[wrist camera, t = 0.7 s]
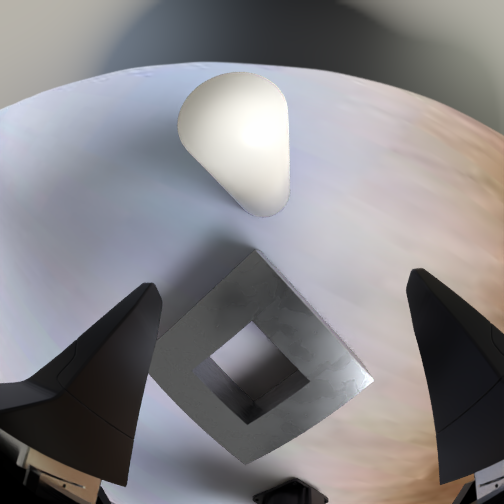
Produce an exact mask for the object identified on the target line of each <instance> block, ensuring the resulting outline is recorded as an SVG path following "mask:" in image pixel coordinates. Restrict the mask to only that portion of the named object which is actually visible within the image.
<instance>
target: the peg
mask: <svg viewBox="0 0 504 504" xmlns="http://www.w3.org/2000/svg"><path fill="white" fill-rule="evenodd" d="M177 126H178V134H179V137H180V140H181V142H182V144H183V145H184V147H185V148H186V149H187V151H188V152H189V153H190V154H191V155H192V156H193V157H194V158H195V159H196V160H197V161H198V162H199V163H200V164H201V165H202V166H203V167H204V168H205V169H206V170H207V171H208V172H209V173H210V174H211V175H212V176H213V177H214V178H215V179H216V181H217V182H218V183H219V184H220V185H221V186H222V187H223V188H224V189H225V190H226V191H227V192H228V193H229V194H230V195H231V196H232V197H233V198H234V199H235V200H236V201H237V203H238V204H239V205H240V206H241V207H242V208H243V209H244V210H245V211H246V212H248V213H249V214H251V215H253V216H256V217H262V218H264V217H271V216H274V215H276V214H278V213H279V212H280V211H282V210H283V209H284V207H285V206H286V205H287V203H288V200H289V197H290V157H289V125H288V107H287V103H286V100H285V97H284V95H283V94H282V92H281V91H280V89H279V88H278V87H277V86H276V85H275V84H274V83H272V82H271V81H270V80H268V79H266V78H264V77H262V76H260V75H256V74H253V73H247V72H232V73H226V74H222V75H219V76H216V77H213V78H211V79H209V80H207V81H205V82H204V83H202V84H201V85H199V86H198V87H197V88H196V89H195V90H194V91H192V93H191V94H190V95H189V96H188V97H187V99H186V100H185V102H184V103H183V105H182V107H181V110H180V112H179V116H178V124H177Z"/></svg>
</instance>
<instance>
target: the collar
mask: <svg viewBox="0 0 504 504" xmlns="http://www.w3.org/2000/svg"><path fill="white" fill-rule="evenodd" d="M251 321H253V322H254V323H255V324H256V325H257V327H258V328H259V329H260V330H261V331H262V332H263V333H264V334H265V335H266V336H267V337H268V338H269V339H270V340H271V341H272V342H273V344H274V345H275V346H276V347H277V348H278V349H279V350H280V351H281V352H282V353H283V354H284V355H285V356H286V357H287V358H288V359H289V360H290V361H291V362H292V363H293V364H294V365H295V366H296V367H297V368H298V370H297V371H296V372H294V373H293V374H292V375H291V376H289V377H288V378H287V379H285V380H284V381H283V382H281V383H280V384H279V385H277V386H276V387H274V388H273V389H272V390H270V391H269V392H267V393H266V394H265V395H263V396H262V397H260V398H259V399H257V400H256V401H255V402H254V401H253V400H252V399H251V398H249V397H248V396H247V395H246V394H245V393H244V392H243V391H242V390H241V389H240V388H239V387H238V386H237V385H236V384H235V383H234V382H233V381H232V380H231V379H230V378H229V377H228V376H227V375H226V374H225V373H224V372H223V371H222V370H221V369H220V368H219V366H218V365H217V364H216V363H215V362H214V361H213V360H212V359H211V358H210V357H209V356H210V355H211V354H213V353H214V352H215V351H216V350H218V349H219V348H220V347H221V346H222V345H224V344H225V343H226V342H227V341H228V340H230V339H231V338H232V337H233V336H234V335H236V334H237V333H238V332H239V331H240V330H242V329H243V328H244V327H245V326H246V325H247V324H249V323H250V322H251ZM148 373H149V375H150V376H151V377H152V378H153V379H154V380H155V381H156V382H157V384H158V385H159V386H160V387H161V388H162V389H163V390H164V391H165V392H166V393H167V394H168V396H169V397H170V398H171V399H172V400H173V401H174V402H175V403H176V404H177V405H178V406H179V407H180V408H181V409H182V410H183V411H184V412H185V413H186V414H187V415H188V416H189V417H190V418H191V419H192V420H193V421H194V422H196V423H197V424H198V425H199V426H200V427H201V428H202V429H203V430H204V431H205V432H206V433H207V434H209V435H210V436H211V437H212V438H213V439H214V440H215V441H217V442H218V443H219V444H220V445H221V446H222V447H224V448H225V449H226V450H227V451H228V452H230V453H231V454H232V455H233V456H235V457H236V458H237V459H238V460H240V461H241V462H242V463H244V464H245V465H246V464H248V463H250V462H252V461H254V460H256V459H258V458H260V457H262V456H264V455H266V454H268V453H270V452H271V451H273V450H275V449H277V448H279V447H280V446H282V445H284V444H285V443H287V442H289V441H291V440H292V439H294V438H296V437H297V436H299V435H300V434H302V433H304V432H305V431H307V430H308V429H310V428H311V427H313V426H314V425H316V424H317V423H319V422H320V421H322V420H323V419H325V418H326V417H328V416H329V415H330V414H332V413H333V412H335V411H336V410H337V409H339V408H340V407H341V406H343V405H344V404H345V403H347V402H348V401H349V400H351V399H352V398H353V397H354V396H356V395H357V394H358V393H360V392H361V391H362V390H363V389H364V388H366V387H367V386H368V385H369V384H370V383H372V382H373V381H374V379H373V378H372V376H371V375H370V373H369V372H368V370H367V369H366V367H365V366H364V364H363V363H362V362H361V360H360V359H359V358H358V357H357V356H356V355H355V354H354V353H353V352H352V350H351V349H350V348H349V347H348V346H347V345H346V344H345V343H344V342H343V340H342V339H341V338H340V337H339V336H338V335H337V334H336V333H335V332H334V330H333V329H332V328H331V327H330V326H329V325H328V324H327V323H326V322H325V321H324V319H323V318H322V317H321V316H320V315H319V314H318V313H317V312H316V311H315V310H314V308H313V307H312V306H311V305H310V304H309V303H308V302H307V301H306V300H305V299H304V297H303V296H302V295H301V294H300V293H299V292H298V291H297V290H296V289H295V288H294V286H293V285H292V284H291V283H290V282H289V281H288V280H287V279H286V278H285V277H284V276H283V274H282V273H281V272H280V271H279V270H278V269H277V268H276V267H275V266H274V265H273V264H272V262H271V261H270V260H269V259H268V258H267V257H266V256H265V255H264V254H263V253H262V252H261V251H258V250H254V251H253V252H252V253H251V254H250V255H249V256H248V257H246V258H245V259H244V260H243V261H242V262H241V263H240V264H239V265H238V266H237V267H236V268H235V269H234V270H233V271H231V272H230V273H229V274H228V275H227V276H226V277H225V278H224V279H223V280H222V281H221V282H220V283H219V284H217V285H216V286H215V287H214V288H213V289H212V290H211V291H210V292H209V293H208V294H207V295H206V296H205V297H204V298H202V299H201V300H200V301H199V302H198V303H197V304H196V305H195V306H194V307H193V308H192V309H191V310H190V311H189V312H187V313H186V314H185V315H184V316H183V317H182V318H181V319H180V320H179V321H178V322H177V323H176V324H175V325H173V326H172V327H171V328H170V329H169V330H168V331H167V332H166V333H165V334H164V335H163V336H162V337H161V338H160V339H158V340H157V341H156V344H155V348H154V352H153V356H152V360H151V364H150V368H149V372H148Z"/></svg>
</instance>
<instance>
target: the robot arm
mask: <svg viewBox="0 0 504 504" xmlns="http://www.w3.org/2000/svg"><path fill="white" fill-rule="evenodd" d="M406 294H407V298H408V303H409V308H410V312H411V318H412V323H413V328H414V332H415V336H416V340H417V343H418V347H419V351H420V354H421V358H422V362H423V367H424V371H425V375H426V380H427V384H428V389H429V394H430V400H431V405H432V411H433V417H434V424H435V431H436V440H437V450H438V461H439V477H440V485H442V484H445V483H448V482H451V481H454V480H457V479H460V478H463V477H465V476H468V475H471V474H473V473H474V478H475V479H474V480H472V481H470V482H468V483H466V484H464V486H463V488H462V489H461V491H460V493H459V494H458V496H457V497H456V499H455V500H454V502H453V503H452V504H504V334H503V333H502V332H501V331H500V330H499V329H498V328H496V327H495V326H494V325H493V324H492V323H490V321H488V320H487V319H486V318H485V317H484V316H483V315H482V314H480V313H479V312H478V311H477V310H476V309H474V308H473V307H472V306H471V305H470V304H468V303H467V302H466V301H465V300H464V299H462V298H461V297H460V296H459V295H457V294H456V293H455V292H454V291H452V290H451V289H450V288H448V287H447V286H446V285H445V284H443V283H442V282H441V281H439V280H438V279H437V278H435V277H434V276H433V275H431V274H430V273H429V272H427V271H426V270H425V269H423V268H416V269H412V271H411V273H410V276H409V280H408V283H407V287H406ZM161 309H162V298H161V296H160V294H159V292H158V290H157V287H156V285H155V284H154V283H143V284H141V285H140V286H139V287H138V288H136V289H135V290H134V291H133V292H131V293H130V294H129V295H128V296H127V297H125V298H124V299H123V300H122V301H121V302H119V303H118V304H117V305H116V306H115V307H113V308H112V309H111V310H110V311H109V312H108V313H106V314H105V315H104V316H103V317H102V318H100V319H99V320H98V321H97V322H96V323H95V324H94V325H92V326H91V327H90V328H89V329H88V330H87V331H85V332H84V333H83V334H82V335H81V336H80V337H79V338H78V339H77V340H75V341H74V342H73V343H72V344H71V345H70V346H68V347H67V348H66V349H65V350H64V351H63V352H62V353H60V354H59V355H58V356H57V357H55V358H54V359H53V360H52V361H50V362H49V363H48V364H47V365H45V366H44V367H43V368H41V369H40V370H39V371H38V372H36V373H35V374H34V375H33V376H31V377H30V378H28V379H26V380H24V381H21V382H15V383H0V504H111V502H110V501H109V499H108V497H107V495H106V494H105V492H104V490H103V488H102V487H101V486H100V485H101V481H102V480H105V481H108V482H111V483H114V484H117V485H120V486H124V487H126V485H127V480H128V473H129V466H130V460H131V454H132V448H133V443H134V440H133V439H134V437H135V431H136V426H137V421H138V416H139V411H140V407H141V402H142V397H143V393H144V389H145V384H146V380H147V376H148V372H149V368H150V364H151V360H152V356H153V352H154V348H155V344H156V340H157V334H158V328H159V321H160V315H161ZM294 482H296V483H294ZM252 500H253V501H254V502H256V503H257V504H326V503H328V498H327V497H325V496H324V495H323V494H321V493H320V492H318V491H317V490H315V489H313V488H312V487H309V486H308V485H306V484H305V483H303V482H302V481H300V480H299V479H292V480H290V481H288V482H286V483H284V484H281V485H279V486H277V487H275V488H272V489H270V490H268V491H265V492H263V493H261V494H258V495H256V496H253V499H252Z"/></svg>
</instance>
